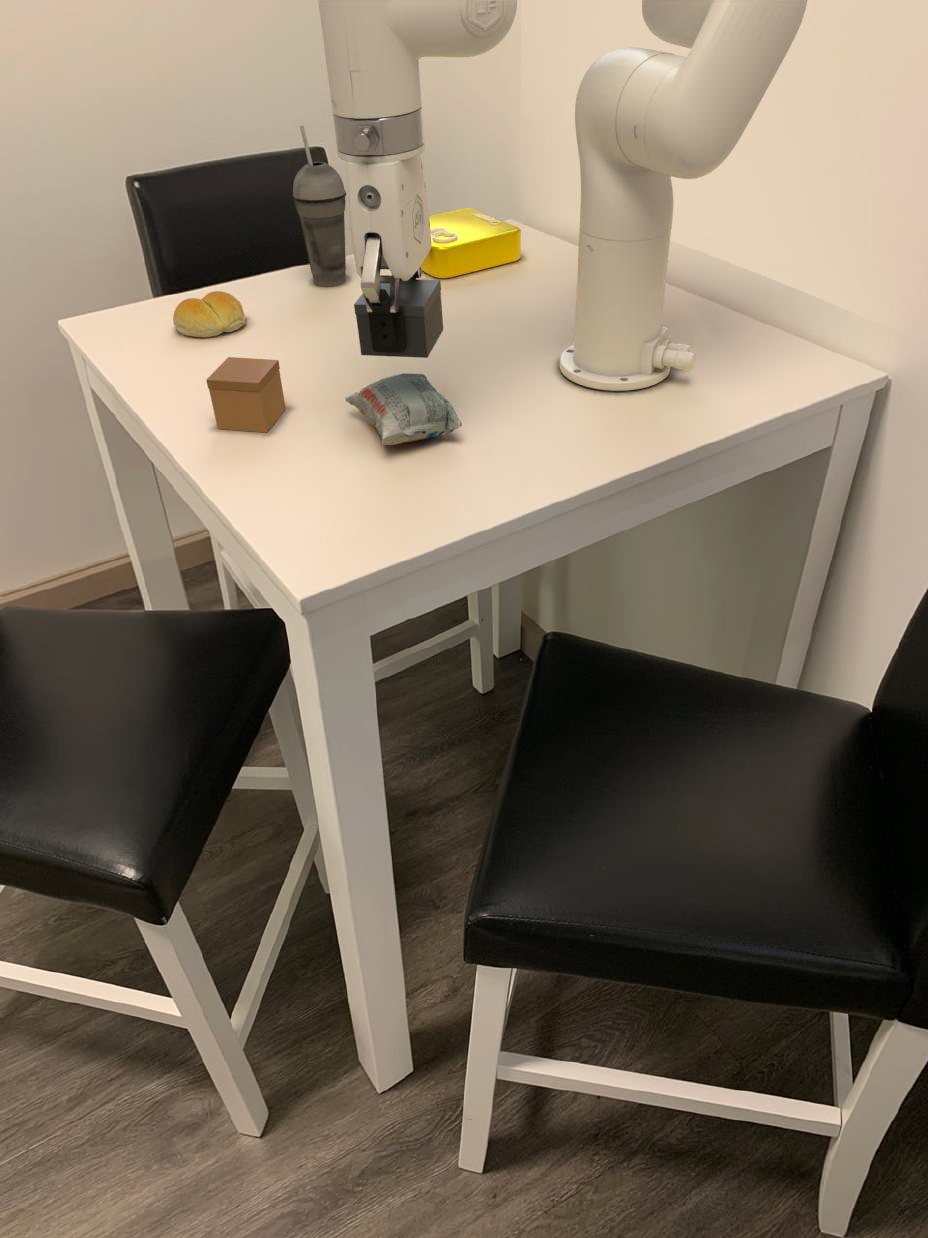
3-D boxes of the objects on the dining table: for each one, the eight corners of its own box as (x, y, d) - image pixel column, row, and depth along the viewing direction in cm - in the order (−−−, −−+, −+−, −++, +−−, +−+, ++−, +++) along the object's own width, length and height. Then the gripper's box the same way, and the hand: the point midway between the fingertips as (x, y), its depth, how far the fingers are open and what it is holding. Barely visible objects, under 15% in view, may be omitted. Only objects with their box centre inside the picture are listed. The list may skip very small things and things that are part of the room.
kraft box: (286, 408, 102) (278, 359, 98) (267, 433, 97) (258, 383, 94) (237, 404, 103) (228, 356, 99) (216, 429, 98) (205, 379, 95)
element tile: (526, 259, 137) (526, 225, 134) (439, 281, 131) (438, 246, 128) (470, 234, 147) (469, 202, 144) (387, 253, 141) (385, 220, 138)
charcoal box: (444, 329, 93) (440, 279, 90) (428, 358, 88) (423, 306, 85) (379, 327, 94) (374, 278, 91) (360, 355, 89) (353, 304, 86)
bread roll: (168, 324, 122) (161, 294, 119) (233, 309, 125) (228, 279, 123) (187, 345, 116) (179, 313, 114) (255, 329, 119) (249, 298, 117)
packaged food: (383, 464, 92) (380, 418, 88) (346, 414, 100) (341, 371, 97) (464, 445, 94) (464, 400, 91) (421, 399, 103) (419, 356, 100)
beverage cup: (352, 289, 130) (335, 130, 117) (300, 290, 130) (278, 132, 117) (357, 271, 135) (342, 118, 123) (308, 272, 136) (287, 120, 123)
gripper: (395, 160, 72) (415, 375, 84) (445, 109, 85) (456, 302, 97) (304, 160, 74) (335, 372, 85) (366, 110, 87) (386, 300, 98)
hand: (399, 333), depth 91 cm, fingers closed on charcoal box, 6 cm apart
